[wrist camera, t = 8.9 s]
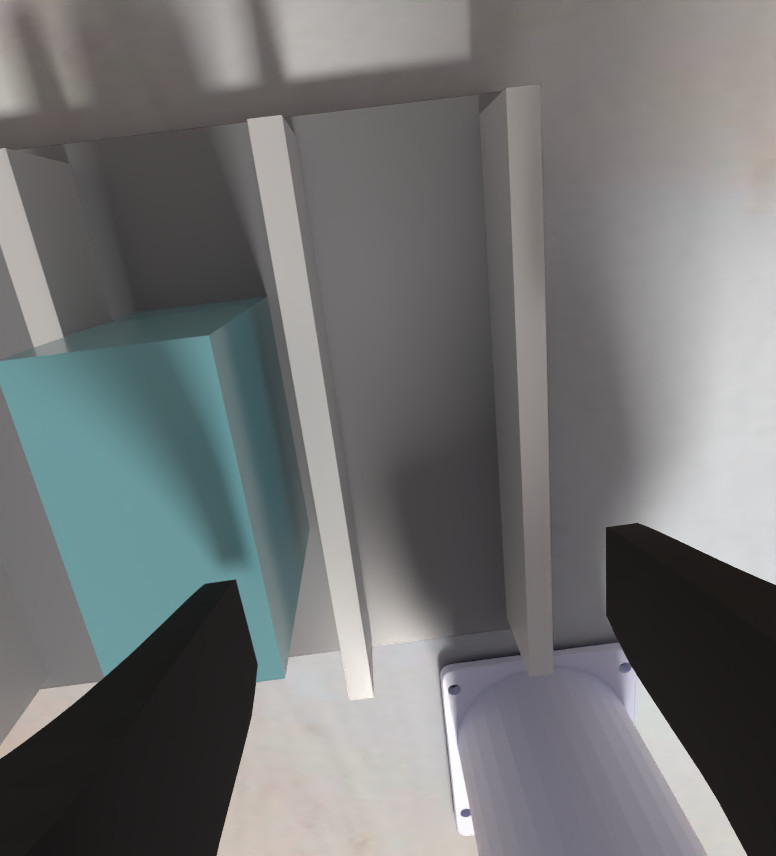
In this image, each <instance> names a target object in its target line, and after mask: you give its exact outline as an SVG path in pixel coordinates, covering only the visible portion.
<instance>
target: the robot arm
mask: <svg viewBox="0 0 776 856" xmlns="http://www.w3.org/2000/svg"><path fill="white" fill-rule="evenodd" d="M606 616H607V618H608V620H609V622H610V625H611V627H612V629H613V631H614V633H615V635H616V637H617V640H618V643H610V644H602V645H594V646H587V647H579V648H571V649H564V650H556V651H553V664H554V674H550V675H542V676H535V677H529V674H528V672H527V669H526V667H525V664H524V661H523V659H522V656H521V655H517V656H509V657H502V658H494V659H486V660H479V661H471V662H463V663H455V664H450V665H446V666H445V667H444V668H443V669H442V670H441V672H440V680H441V690H442V699H443V709H444V718H445V727H446V737H447V746H448V756H449V765H450V775H451V784H452V793H453V803H454V812H455V822H456V828H457V831H458V832H459V833H460V834H461V835H464V836H469V835H475V838H476V843H477V848H478V854H479V856H708V855H707V853H706V851H705V850H704V848H703V846H702V844H701V842H700V841H699V839H698V837H697V835H696V834H695V832H694V830H693V828H692V826H691V825H690V823H689V821H688V819H687V818H686V816H685V814H684V812H683V810H682V809H681V807H680V805H679V803H678V802H677V800H676V798H675V796H674V794H673V793H672V791H671V789H670V787H669V786H668V784H667V782H666V780H665V778H664V777H663V775H662V773H661V771H660V770H659V768H658V766H657V764H656V762H655V761H654V759H653V757H652V755H651V754H650V752H649V750H648V748H647V747H646V745H645V743H644V741H643V739H642V738H641V736H640V734H639V732H638V731H637V729H636V727H635V725H634V720H635V695H636V674H637V676H638V678H639V679H640V681H641V682H642V684H643V685H644V687H645V688H646V690H647V691H648V693H649V695H650V696H651V698H652V699H653V701H654V702H655V704H656V705H657V707H658V708H659V710H660V711H661V713H662V714H663V716H664V717H665V719H666V720H667V722H668V723H669V725H670V726H671V728H672V730H673V731H674V733H675V734H676V736H677V737H678V739H679V740H680V742H681V743H682V745H683V746H684V748H685V749H686V751H687V752H688V754H689V755H690V757H691V758H692V760H693V761H694V763H695V764H696V766H697V767H698V769H699V770H700V772H701V774H702V775H703V777H704V778H705V780H706V782H707V783H708V785H709V787H710V788H711V790H712V792H713V793H714V795H715V797H716V798H717V800H718V802H719V803H720V805H721V807H722V809H723V811H724V813H725V815H726V816H727V818H728V820H729V822H730V824H731V826H732V828H733V829H734V831H735V833H736V835H737V837H738V839H739V841H740V842H741V844H742V846H743V848H744V850H745V852H746V854H747V856H776V585H774V584H772V583H769V582H767V581H765V580H762V579H760V578H758V577H755V576H753V575H751V574H749V573H746V572H744V571H742V570H740V569H737V568H735V567H733V566H731V565H729V564H727V563H724V562H722V561H720V560H718V559H716V558H714V557H711V556H709V555H707V554H705V553H703V552H701V551H699V550H697V549H695V548H692V547H690V546H688V545H686V544H684V543H682V542H680V541H678V540H676V539H673V538H671V537H669V536H667V535H665V534H663V533H661V532H658V531H656V530H654V529H651V528H649V527H647V526H644V525H641V524H639V523H634V524H627V525H619V526H612V527H606ZM622 663H625V664H624V665H622V666H620V665H621V664H622ZM257 669H258V663H257V659H256V655H255V652H254V648H253V644H252V640H251V636H250V632H249V628H248V624H247V620H246V616H245V613H244V609H243V605H242V601H241V597H240V593H239V589H238V585H237V581H236V579H235V580H228V581H221V582H214V583H207V584H204V585H203V586H202V587H200V588H199V589H198V590H197V591H196V592H195V593H194V594H192V595H191V596H190V597H189V598H188V599H187V600H186V601H185V602H184V603H183V604H182V605H181V606H180V607H179V608H178V609H177V610H176V611H175V612H174V613H173V614H172V615H171V616H170V617H169V618H168V619H167V620H166V621H165V622H164V623H163V624H161V625H160V626H159V627H158V628H157V629H156V630H155V631H154V632H153V633H152V634H151V635H150V636H149V637H148V638H147V639H146V640H145V641H144V642H143V643H142V644H141V645H140V646H139V647H137V648H136V649H135V650H134V651H133V652H132V653H131V654H130V655H129V656H128V657H127V658H126V659H124V660H123V661H122V662H121V663H120V664H119V665H118V666H117V667H115V668H114V669H113V670H112V671H111V672H110V673H109V674H108V675H106V676H105V677H104V678H103V679H102V680H101V681H100V682H98V683H97V684H96V685H95V686H94V687H93V688H92V689H91V690H89V691H88V692H87V693H86V694H85V695H84V696H83V697H81V698H80V699H79V700H78V701H77V702H75V703H74V704H73V705H72V706H70V707H69V708H68V709H67V710H65V711H64V712H63V713H62V714H60V715H59V716H58V717H57V718H55V719H54V720H53V721H51V722H50V723H49V724H48V725H46V726H45V727H44V728H42V729H41V730H40V731H38V732H37V733H36V734H34V735H33V736H32V737H30V738H29V739H28V740H26V741H25V742H24V743H22V744H21V745H20V746H18V747H17V748H15V749H14V750H13V751H11V752H10V753H8V754H7V755H5V756H4V757H2V758H1V759H0V856H217V851H218V847H219V842H220V838H221V834H222V831H223V827H224V823H225V819H226V815H227V811H228V807H229V803H230V800H231V796H232V792H233V788H234V784H235V780H236V776H237V772H238V769H239V765H240V761H241V757H242V753H243V749H244V745H245V741H246V737H247V733H248V729H249V725H250V721H251V716H252V709H253V702H254V695H255V686H256V677H257ZM452 685H458V686H457V687H454V688H451V687H450V686H452Z"/></svg>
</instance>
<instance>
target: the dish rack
mask: <svg viewBox="0 0 776 856" xmlns="http://www.w3.org/2000/svg"><path fill="white" fill-rule="evenodd" d="M264 296H267V297H268V303H269V308H270V314H271V319H272V325H273V330H274V336H275V341H276V347H277V352H278V358H279V363H280V368H281V374H282V379H283V385H284V390H285V396H286V401H287V407H288V412H289V418H290V423H291V429H292V434H293V440H294V445H295V450H296V456H297V461H298V467H299V472H300V478H301V483H302V489H303V494H304V500H305V505H306V511H307V516H308V522H309V527H310V530H309V536H308V542H307V549H306V555H305V561H304V567H303V573H302V579H301V585H300V591H299V597H298V603H297V609H296V615H295V621H294V627H293V633H292V639H291V645H290V651H289V657H294V656H302V655H309V654H317V653H325V652H333V651H340V650H341V655H342V661H343V667H344V672H345V678H346V684H347V689H348V695H349V701H350V700H358V699H365V698H373V697H374V690H373V660H372V646H379V645H387V644H395V643H402V642H410V641H418V640H426V639H433V638H441V637H449V636H457V635H464V634H472V633H480V632H488V631H495V630H503V629H511V630H512V633H513V636H514V638H515V641H516V643H517V646H518V649H519V651H520V654H521V656H522V659H523V661H524V664H525V667H526V669H527V672H528V674H529V677H535V676H542V675H550V674H554V664H553V619H552V573H551V528H550V483H549V437H548V392H547V346H546V301H545V255H544V210H543V164H542V119H541V84H534V85H526V86H518V87H509V88H505V89H504V90H503V91H501V92H493V93H484V94H476V95H468V96H459V97H451V98H443V99H434V100H426V101H418V102H409V103H401V104H393V105H384V106H376V107H368V108H359V109H351V110H343V111H334V112H326V113H318V114H309V115H301V116H293V117H283V116H282V115H276V116H268V117H259V118H251V119H247V122H243V123H234V124H226V125H218V126H210V127H201V128H193V129H185V130H176V131H168V132H160V133H151V134H143V135H135V136H126V137H118V138H110V139H101V140H93V141H85V142H76V143H68V144H60V145H51V146H43V147H35V148H26V149H18V150H11V149H7V148H1V149H0V359H3V358H5V357H8V356H11V355H14V354H17V353H20V352H23V351H26V350H28V349H31V348H34V347H37V346H40V345H43V344H46V343H49V342H52V341H54V340H57V339H60V338H63V337H66V336H69V335H72V334H75V333H77V332H80V331H83V330H86V329H89V328H92V327H95V326H98V325H101V324H103V323H106V322H109V321H112V320H115V319H118V318H121V317H124V316H126V315H129V314H132V313H135V312H143V311H151V310H159V309H167V308H175V307H183V306H191V305H200V304H208V303H216V302H224V301H232V300H240V299H248V298H256V297H264ZM103 678H104V675H103V672H102V670H101V667H100V664H99V661H98V658H97V656H96V653H95V650H94V647H93V644H92V641H91V639H90V636H89V633H88V630H87V627H86V625H85V622H84V619H83V616H82V613H81V611H80V608H79V605H78V602H77V599H76V596H75V594H74V591H73V588H72V585H71V582H70V580H69V577H68V574H67V571H66V568H65V565H64V563H63V560H62V557H61V554H60V551H59V549H58V546H57V543H56V540H55V537H54V534H53V532H52V529H51V526H50V523H49V520H48V518H47V515H46V512H45V509H44V506H43V504H42V501H41V498H40V495H39V492H38V489H37V487H36V484H35V481H34V478H33V475H32V473H31V470H30V467H29V464H28V461H27V458H26V456H25V453H24V450H23V447H22V444H21V442H20V439H19V436H18V433H17V430H16V428H15V425H14V422H13V419H12V416H11V413H10V411H9V408H8V405H7V402H6V399H5V397H4V394H3V391H2V388H1V385H0V745H1V744H2V742H3V741H4V739H5V738H6V736H7V735H8V734H9V732H10V731H11V729H12V728H13V726H14V725H15V724H16V722H17V721H18V719H19V718H20V716H21V715H22V714H23V712H24V711H25V709H26V708H27V707H28V705H29V704H30V702H31V701H32V699H33V698H34V697H35V695H36V694H37V692H38V691H39V689H46V688H54V687H62V686H69V685H77V684H85V683H93V682H100V681H101V680H102V679H103Z"/></svg>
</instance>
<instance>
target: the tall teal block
mask: <svg viewBox="0 0 776 856" xmlns="http://www.w3.org/2000/svg"><path fill="white" fill-rule="evenodd" d="M0 385H1V388H2V391H3V394H4V397H5V399H6V402H7V405H8V408H9V411H10V413H11V416H12V419H13V422H14V425H15V428H16V430H17V433H18V436H19V439H20V442H21V444H22V447H23V450H24V453H25V456H26V458H27V461H28V464H29V467H30V470H31V473H32V475H33V478H34V481H35V484H36V487H37V489H38V492H39V495H40V498H41V501H42V504H43V506H44V509H45V512H46V515H47V518H48V520H49V523H50V526H51V529H52V532H53V534H54V537H55V540H56V543H57V546H58V549H59V551H60V554H61V557H62V560H63V563H64V565H65V568H66V571H67V574H68V577H69V580H70V582H71V585H72V588H73V591H74V594H75V596H76V599H77V602H78V605H79V608H80V611H81V613H82V616H83V619H84V622H85V625H86V627H87V630H88V633H89V636H90V639H91V641H92V644H93V647H94V650H95V653H96V656H97V658H98V661H99V664H100V667H101V670H102V672H103V675H104V677H105V676H106V675H108V674H109V673H110V672H111V671H112V670H113V669H114V668H115V667H117V666H118V665H119V664H120V663H121V662H122V661H123V660H124V659H126V658H127V657H128V656H129V655H130V654H131V653H132V652H133V651H134V650H135V649H136V648H137V647H139V646H140V645H141V644H142V643H143V642H144V641H145V640H146V639H147V638H148V637H149V636H150V635H151V634H152V633H153V632H154V631H155V630H156V629H157V628H158V627H159V626H160V625H161V624H163V623H164V622H165V621H166V620H167V619H168V618H169V617H170V616H171V615H172V614H173V613H174V612H175V611H176V610H177V609H178V608H179V607H180V606H181V605H182V604H183V603H184V602H185V601H186V600H187V599H188V598H189V597H190V596H191V595H192V594H194V593H195V592H196V591H197V590H198V589H199V588H200V587H202V586H203V585H204V584H207V583H214V582H221V581H228V580H235V579H236V581H237V585H238V589H239V593H240V597H241V601H242V605H243V609H244V613H245V616H246V620H247V624H248V628H249V632H250V636H251V640H252V644H253V648H254V652H255V655H256V659H257V663H258V669H257V677H256V682H261V681H269V680H276V679H284V678H285V675H286V669H287V663H288V657H289V651H290V645H291V639H292V633H293V627H294V621H295V615H296V609H297V603H298V597H299V591H300V585H301V579H302V573H303V567H304V561H305V555H306V549H307V542H308V536H309V530H310V527H309V522H308V516H307V511H306V505H305V500H304V494H303V489H302V483H301V478H300V472H299V467H298V461H297V456H296V450H295V445H294V440H293V434H292V429H291V423H290V418H289V412H288V407H287V401H286V396H285V390H284V385H283V379H282V374H281V368H280V363H279V358H278V352H277V347H276V341H275V336H274V330H273V325H272V319H271V314H270V308H269V303H268V297H267V296H264V297H256V298H248V299H240V300H232V301H224V302H216V303H208V304H200V305H191V306H183V307H175V308H167V309H159V310H151V311H143V312H135V313H132V314H129V315H126V316H124V317H121V318H118V319H115V320H112V321H109V322H106V323H103V324H101V325H98V326H95V327H92V328H89V329H86V330H83V331H80V332H77V333H75V334H72V335H69V336H66V337H63V338H60V339H57V340H54V341H52V342H49V343H46V344H43V345H40V346H37V347H34V348H31V349H28V350H26V351H23V352H20V353H17V354H14V355H11V356H8V357H5V358H3V359H0Z"/></svg>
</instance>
